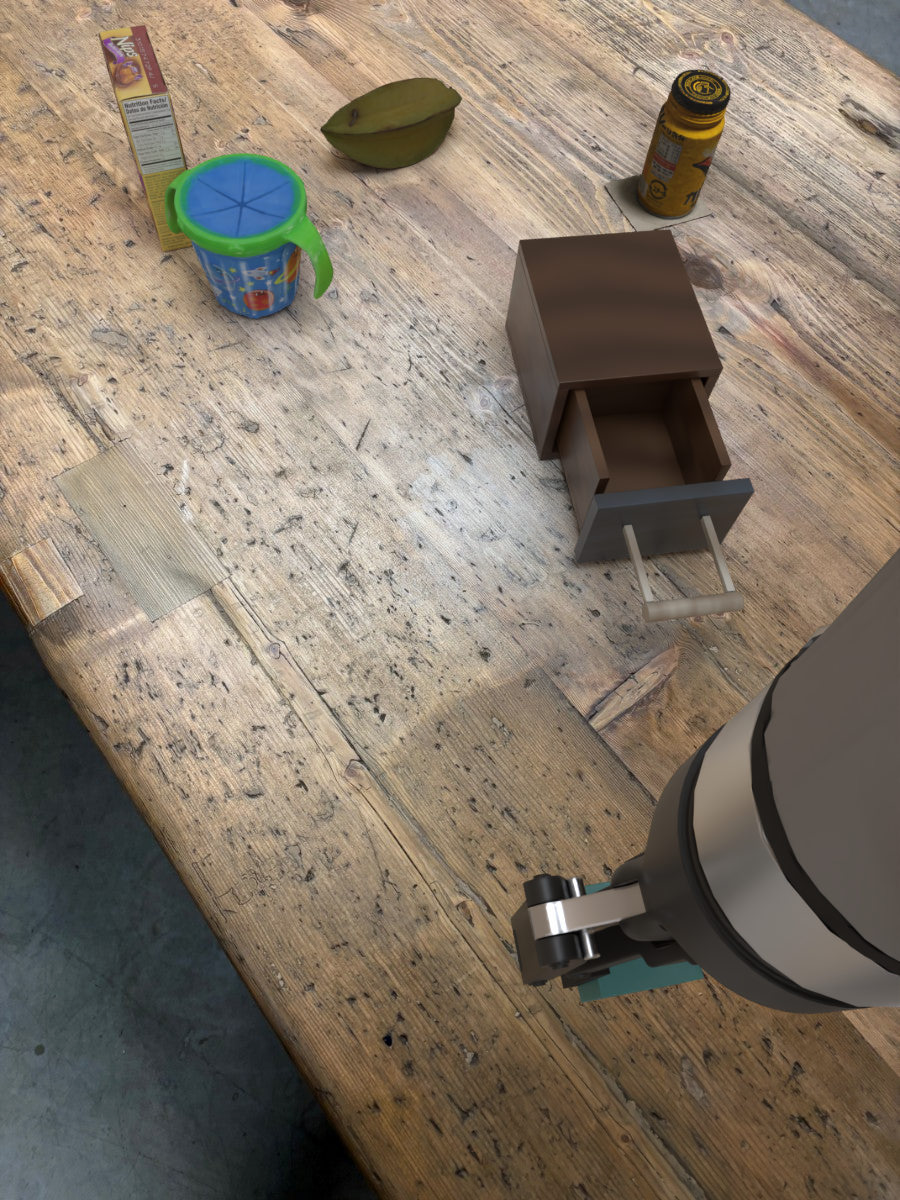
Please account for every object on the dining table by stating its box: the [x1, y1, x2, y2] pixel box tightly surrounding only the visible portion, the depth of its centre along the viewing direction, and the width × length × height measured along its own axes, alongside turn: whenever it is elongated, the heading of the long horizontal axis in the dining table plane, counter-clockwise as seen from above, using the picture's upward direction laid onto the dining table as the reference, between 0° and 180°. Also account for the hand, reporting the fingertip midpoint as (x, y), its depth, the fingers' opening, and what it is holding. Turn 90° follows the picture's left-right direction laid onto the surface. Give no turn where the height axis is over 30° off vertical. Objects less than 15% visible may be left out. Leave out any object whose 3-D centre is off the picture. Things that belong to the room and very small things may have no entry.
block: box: [576, 880, 705, 1004], centre depth 42 cm, size 4×4×4 cm
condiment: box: [603, 68, 732, 232], centre depth 87 cm, size 7×8×12 cm
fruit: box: [319, 77, 463, 170], centre depth 90 cm, size 11×12×7 cm
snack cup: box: [165, 152, 335, 320], centre depth 79 cm, size 16×10×10 cm
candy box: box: [97, 24, 193, 252], centre depth 80 cm, size 9×4×15 cm, turn 20°
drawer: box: [556, 377, 755, 624], centre depth 70 cm, size 21×12×8 cm, turn 10°
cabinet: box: [505, 228, 724, 462], centre depth 77 cm, size 15×13×10 cm
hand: (618, 946), depth 43 cm, fingers closed on block, 4 cm apart
